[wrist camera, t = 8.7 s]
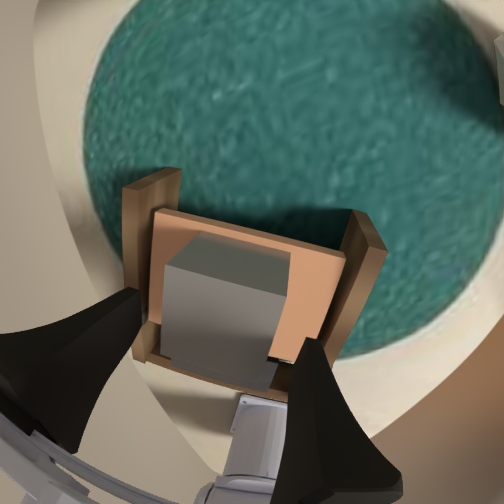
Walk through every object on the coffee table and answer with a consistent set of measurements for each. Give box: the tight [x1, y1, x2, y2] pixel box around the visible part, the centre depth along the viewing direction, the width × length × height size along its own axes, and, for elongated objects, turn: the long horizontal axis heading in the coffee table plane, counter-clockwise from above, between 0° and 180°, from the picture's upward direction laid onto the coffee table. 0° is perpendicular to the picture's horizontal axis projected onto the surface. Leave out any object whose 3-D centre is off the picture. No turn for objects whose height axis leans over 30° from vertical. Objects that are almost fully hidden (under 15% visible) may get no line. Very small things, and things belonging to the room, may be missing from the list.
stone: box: [160, 231, 291, 383], centre depth 13 cm, size 4×4×4 cm
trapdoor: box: [149, 208, 346, 393], centre depth 17 cm, size 11×10×2 cm
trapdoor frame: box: [122, 167, 388, 402], centre depth 18 cm, size 14×13×6 cm
